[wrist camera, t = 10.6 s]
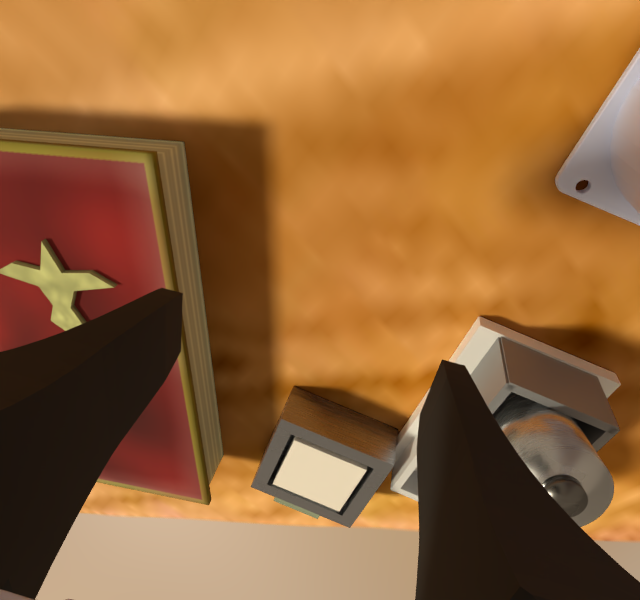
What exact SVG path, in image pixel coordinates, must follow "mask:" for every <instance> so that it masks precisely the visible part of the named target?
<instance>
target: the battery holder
mask: <svg viewBox="0 0 640 600" xmlns="http://www.w3.org/2000/svg"><path fill="white" fill-rule="evenodd" d="M449 362H453V363H457V364H461V365H465V366H466V368H467V370H468V372H469V374H470V375H471V377H472V379H473V381H474V383H475V384H476V386H477V388H478V390H479V392H480V394H481V395H482V397H483V399H484V401H485V403H486V404H487V406H488V408H489V409H490V411H491V413H492V415H493V413H494V412H495V411H496V410H497V408H498V407H499V406H500V405H501V404H502V402H503V401H504V400H505V399H506V398H507V396H508V395H509V394H510V393H511V392H513V393H516V394H518V395H520V396H523V397H525V398H528V399H530V400H532V401H535V402H537V403H539V404H542V405H544V406H547V407H549V408H551V409H554V410H556V411H559V412H562V413H564V414H566V415H568V416H571V417H573V418H574V419H575V421H576V422H577V424H578V425H579V427H580V428H581V430H582V431H583V433H584V434H585V436H586V437H587V439H588V440H589V442H590V443H591V445H592V446H593V448H594V449H595V451H596V452H597V451H598V450H600V449H601V448H602V447H603V446H604V445H605V444H606V443H607V442H608V441H609V440H610V439H611V438H613V437H614V436H615V435H616V434H617V433H618V432H619V431H620V429H619V426H618V424H617V421H616V419H615V417H614V414H613V412H612V410H611V407H610V405H609V403H608V400H607V398H608V397H609V396H610V395H611V394H612V393H613V392H614V391H615V390H616V389H617V388H618V387H619V386H620V385H621V384H620V381H619V379H618V377H617V375H616V373H613V372H611V371H609V370H606V369H604V368H602V367H599V366H597V365H594V364H592V363H590V362H587V361H585V360H583V359H580V358H578V357H575V356H573V355H571V354H568V353H566V352H563V351H561V350H559V349H556V348H554V347H552V346H549V345H547V344H544V343H542V342H540V341H537V340H535V339H533V338H530V337H528V336H525V335H523V334H521V333H518V332H516V331H514V330H511V329H509V328H506V327H504V326H502V325H499V324H497V323H494V322H492V321H490V320H487V319H485V318H483V317H480V316H479V317H478V318H477V320H476V321H475V323H474V324H473V326H472V327H471V328H470V330H469V331H468V333H467V334H466V336H465V337H464V339H463V340H462V342H461V343H460V345H459V346H458V348H457V349H456V351H455V352H454V353H453V355H452V356H451V358H450V359H449ZM430 388H431V387H430ZM429 391H430V389H429V390H428V392H427V393H426V395H425V396H424V398H423V399H422V400H421V402H420V403H419V405H418V406H417V408H416V409H415V411H414V412H413V414H412V415H411V417H410V418H409V420H408V421H407V423H406V424H405V425H404V427H403V428H402V430H401V431H400V433H399V434H398V436H397V442H396V453H395V463H394V467H393V469H392V479H391V490H392V491H394V492H397V493H399V494H402V495H404V496H407V497H409V498H411V499H414V500H416V501H418V478H417V438H418V427H419V417H420V413H421V410H422V408H423V405H424V403H425V400H426V398H427V395H428V393H429Z"/></svg>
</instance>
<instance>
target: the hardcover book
mask: <svg viewBox="0 0 640 600" xmlns="http://www.w3.org/2000/svg"><path fill="white" fill-rule="evenodd" d="M160 288H165V289H169V290H173V291H177V292H181V293H183V300H182V335H181V352H180V354H179V356H178V358H177V360H176V362H175V364H174V366H173V368H172V369H171V371H170V373H169V375H168V377H167V378H166V380H165V382H164V383H163V385H162V386H161V387H160V389H159V390H158V392H157V393H156V394H155V396H154V397H153V399H152V400H151V401H150V403H149V404H148V405H147V407H146V408H145V410H144V411H143V412H142V414H141V415H140V416H139V418H138V419H137V420H136V422H135V423H134V425H133V426H132V427H131V429H130V430H129V431H128V433H127V434H126V435H125V437H124V438H123V440H122V441H121V442H120V444H119V445H118V447H117V448H116V450H115V451H114V453H113V454H112V456H111V457H110V459H109V461H108V462H107V464H106V466H105V468H104V469H103V471H102V473H101V474H100V476H99V478H98V480H97V481H96V482H99V483H104V484H108V485H113V486H118V487H123V488H128V489H133V490H138V491H143V492H147V493H152V494H157V495H162V496H167V497H172V498H177V499H182V500H186V501H191V502H196V503H201V504H206V505H209V504H210V502H211V494H210V487H209V484H210V482H211V480H212V478H213V476H214V474H215V472H216V469H217V467H218V465H219V463H220V461H221V459H222V457H223V455H224V454H223V446H222V438H221V430H220V422H219V414H218V406H217V399H216V391H215V383H214V375H213V367H212V359H211V351H210V343H209V335H208V327H207V319H206V311H205V303H204V295H203V287H202V279H201V271H200V263H199V255H198V247H197V239H196V231H195V223H194V215H193V208H192V200H191V192H190V184H189V176H188V168H187V160H186V152H185V144H184V142H181V141H168V140H155V139H142V138H128V137H115V136H102V135H88V134H75V133H62V132H49V131H35V130H22V129H9V128H0V352H2V351H6V350H10V349H14V348H17V347H20V346H24V345H27V344H30V343H33V342H36V341H39V340H42V339H45V338H48V337H51V336H53V335H56V334H59V333H61V332H64V331H66V330H69V329H71V328H74V327H76V326H78V325H81V324H83V323H86V322H88V321H90V320H93V319H95V318H98V317H100V316H102V315H104V314H106V313H108V312H111V311H113V310H115V309H117V308H119V307H121V306H123V305H125V304H128V303H130V302H132V301H134V300H136V299H138V298H140V297H142V296H144V295H146V294H148V293H150V292H153V291H155V290H157V289H160Z"/></svg>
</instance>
